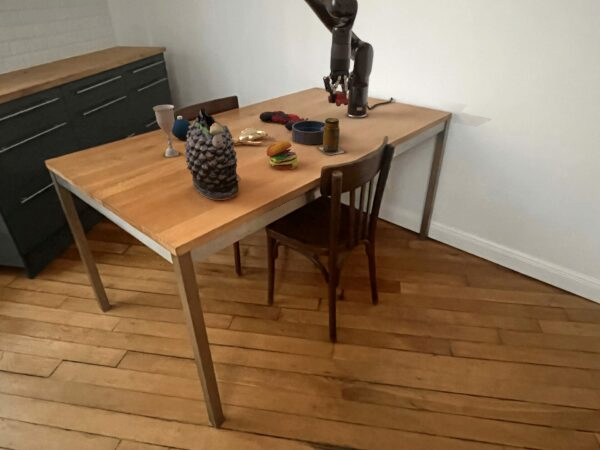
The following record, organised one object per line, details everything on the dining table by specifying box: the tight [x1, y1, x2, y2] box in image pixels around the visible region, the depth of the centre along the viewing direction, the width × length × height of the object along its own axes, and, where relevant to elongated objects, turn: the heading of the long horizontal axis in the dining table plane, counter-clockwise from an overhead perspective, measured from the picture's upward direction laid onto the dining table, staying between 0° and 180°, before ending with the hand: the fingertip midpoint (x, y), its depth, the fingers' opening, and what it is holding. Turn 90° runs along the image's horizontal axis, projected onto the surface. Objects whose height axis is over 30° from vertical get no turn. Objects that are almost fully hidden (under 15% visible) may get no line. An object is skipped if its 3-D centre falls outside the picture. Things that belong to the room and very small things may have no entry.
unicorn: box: [232, 127, 271, 146], centre depth 167 cm, size 20×4×17 cm
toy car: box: [327, 90, 349, 107], centre depth 160 cm, size 8×4×4 cm, turn 30°
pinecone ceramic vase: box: [183, 107, 242, 201], centre depth 123 cm, size 21×15×25 cm
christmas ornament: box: [171, 115, 192, 140], centre depth 167 cm, size 8×8×10 cm
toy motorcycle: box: [259, 110, 309, 131], centre depth 186 cm, size 25×5×16 cm
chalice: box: [152, 104, 180, 158], centre depth 150 cm, size 7×7×18 cm
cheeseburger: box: [266, 140, 298, 170], centre depth 144 cm, size 10×11×10 cm
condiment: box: [318, 117, 345, 156], centre depth 155 cm, size 7×8×12 cm
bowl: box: [291, 120, 325, 145], centre depth 168 cm, size 15×15×6 cm
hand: (338, 102), depth 161 cm, fingers closed on toy car, 4 cm apart
